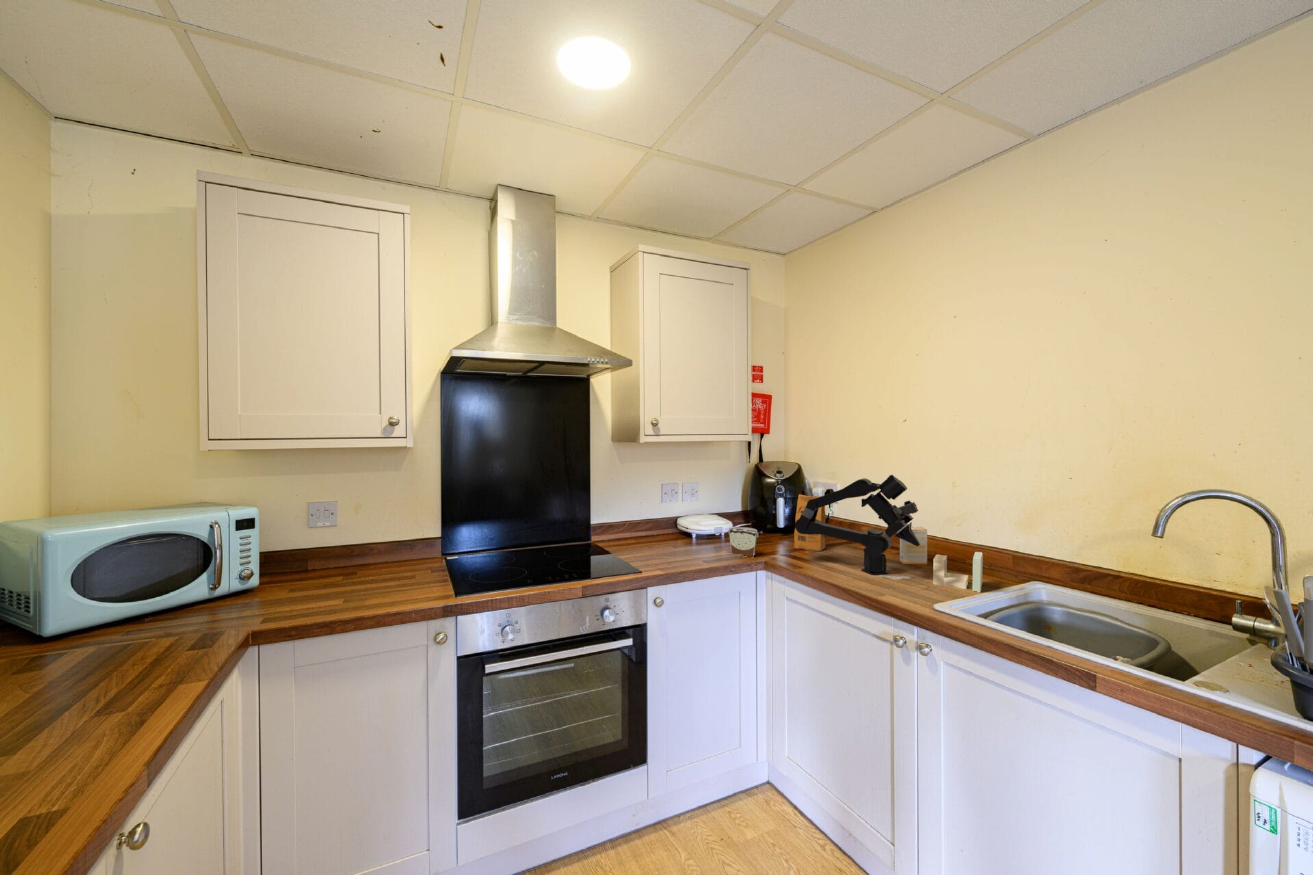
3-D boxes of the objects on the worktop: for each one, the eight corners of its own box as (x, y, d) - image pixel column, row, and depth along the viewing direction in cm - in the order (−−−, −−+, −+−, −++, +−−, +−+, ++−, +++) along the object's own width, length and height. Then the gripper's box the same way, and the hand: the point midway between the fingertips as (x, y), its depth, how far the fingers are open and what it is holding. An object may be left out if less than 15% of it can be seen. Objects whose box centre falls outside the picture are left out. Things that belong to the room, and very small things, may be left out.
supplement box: (922, 561, 196) (922, 526, 195) (927, 565, 191) (927, 529, 191) (898, 561, 196) (899, 526, 196) (903, 564, 192) (904, 528, 191)
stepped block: (933, 584, 167) (933, 559, 167) (936, 578, 174) (936, 554, 173) (966, 589, 162) (966, 563, 162) (968, 583, 169) (968, 558, 168)
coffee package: (799, 544, 225) (799, 492, 224) (828, 548, 217) (828, 495, 217) (790, 548, 216) (790, 495, 216) (820, 552, 209) (821, 497, 209)
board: (972, 591, 160) (972, 558, 160) (974, 582, 169) (975, 551, 169) (980, 592, 159) (980, 559, 158) (982, 583, 168) (982, 552, 167)
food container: (763, 554, 205) (763, 529, 205) (757, 557, 200) (757, 531, 200) (734, 550, 212) (734, 525, 212) (727, 553, 207) (727, 528, 207)
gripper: (897, 496, 168) (935, 534, 162) (907, 490, 183) (942, 525, 177) (870, 518, 172) (906, 556, 166) (882, 511, 188) (915, 546, 182)
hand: (918, 545), depth 173 cm, fingers closed
